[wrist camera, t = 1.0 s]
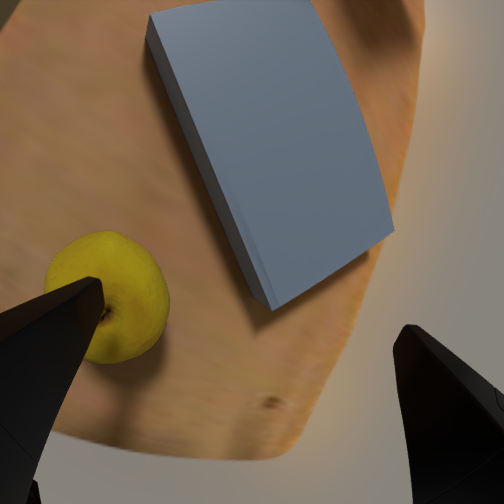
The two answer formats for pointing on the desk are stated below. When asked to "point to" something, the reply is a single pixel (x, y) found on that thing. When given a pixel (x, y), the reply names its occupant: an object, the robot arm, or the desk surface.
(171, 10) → the book
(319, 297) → the desk surface
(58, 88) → the desk surface
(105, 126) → the desk surface
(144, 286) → the apple
